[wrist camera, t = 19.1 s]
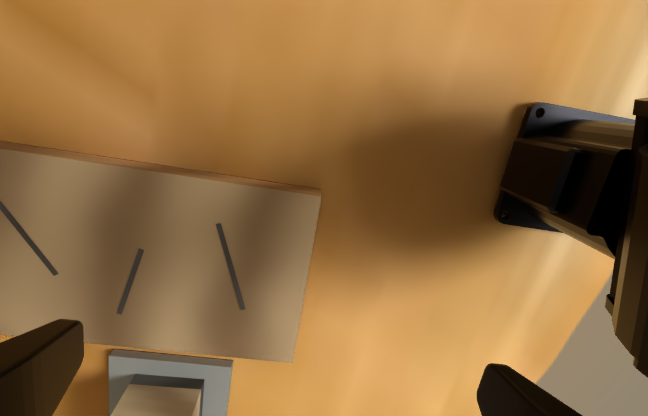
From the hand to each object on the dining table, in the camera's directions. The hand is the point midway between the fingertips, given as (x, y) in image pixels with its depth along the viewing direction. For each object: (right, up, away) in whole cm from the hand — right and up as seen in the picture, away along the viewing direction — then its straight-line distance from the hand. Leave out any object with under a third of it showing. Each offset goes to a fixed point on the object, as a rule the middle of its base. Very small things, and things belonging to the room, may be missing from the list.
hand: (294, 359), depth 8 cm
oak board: (-9, +1, +12) cm, 15 cm away
